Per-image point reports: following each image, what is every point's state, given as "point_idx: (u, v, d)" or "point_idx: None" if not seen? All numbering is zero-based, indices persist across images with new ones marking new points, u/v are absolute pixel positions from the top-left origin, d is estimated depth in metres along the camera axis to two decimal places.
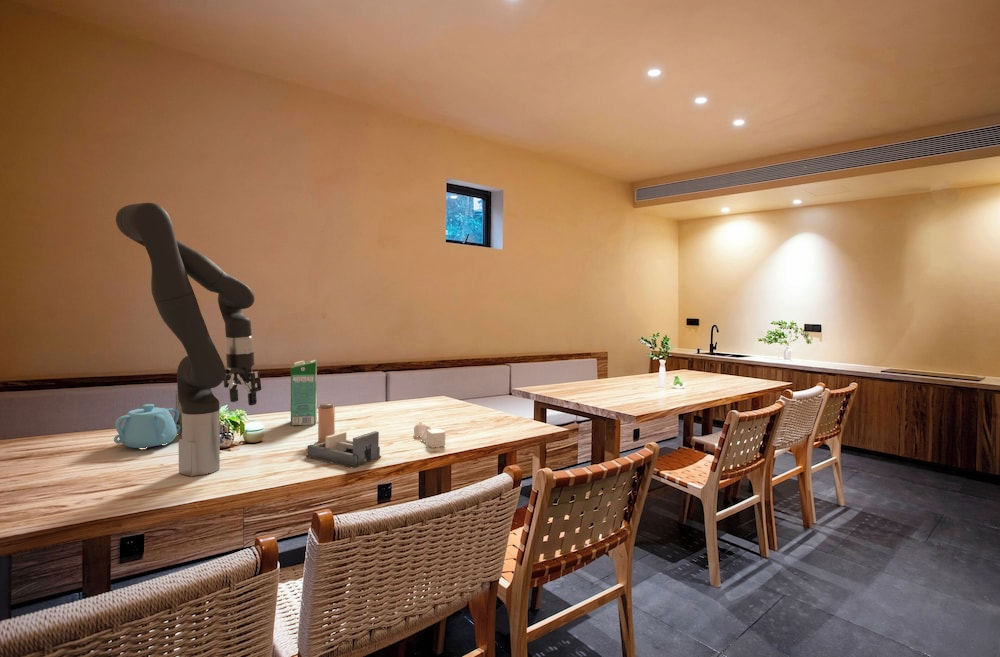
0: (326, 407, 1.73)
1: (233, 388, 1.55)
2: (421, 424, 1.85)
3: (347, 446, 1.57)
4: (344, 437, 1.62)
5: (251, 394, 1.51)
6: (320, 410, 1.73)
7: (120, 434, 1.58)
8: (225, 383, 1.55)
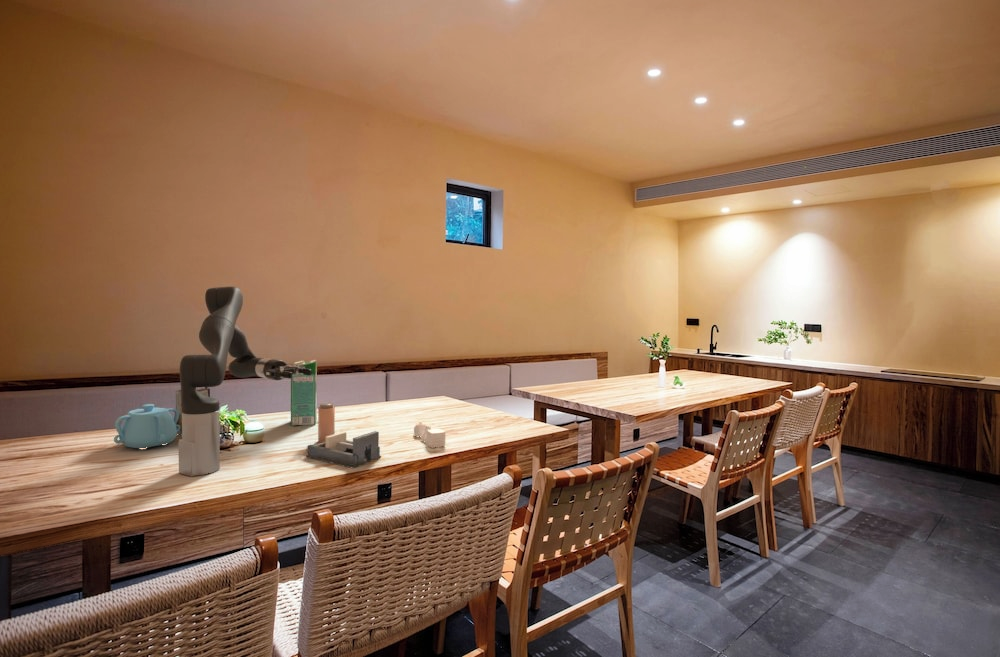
0: (326, 407, 1.73)
1: None
2: (421, 424, 1.85)
3: (347, 446, 1.57)
4: (344, 437, 1.62)
5: (306, 369, 1.86)
6: (320, 410, 1.73)
7: (120, 434, 1.58)
8: (275, 371, 1.77)
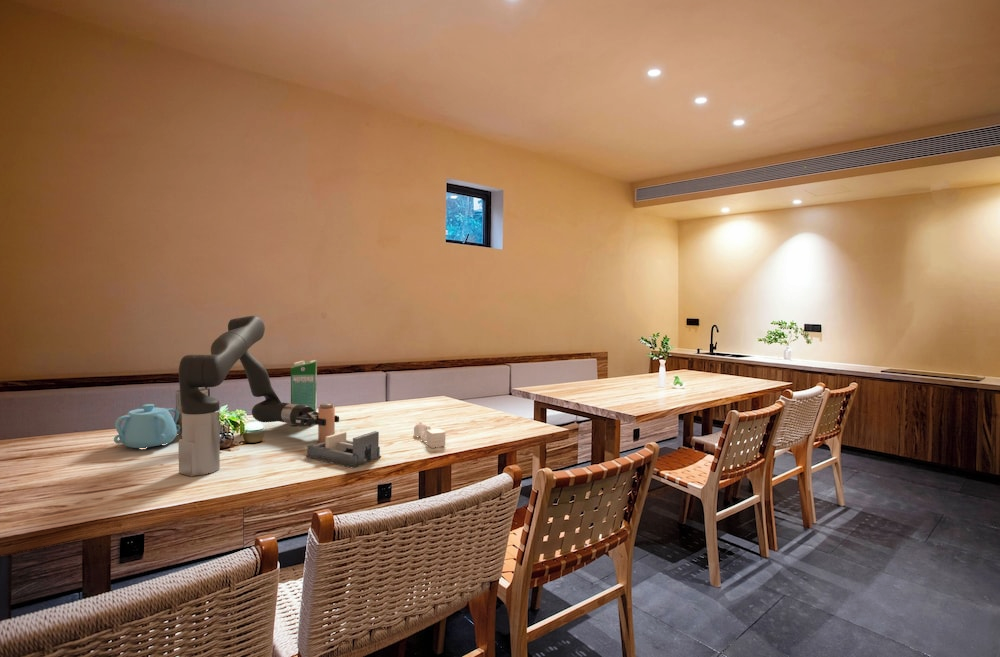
0: (326, 407, 1.73)
1: None
2: (421, 424, 1.85)
3: (347, 446, 1.57)
4: (344, 437, 1.62)
5: None
6: (320, 410, 1.73)
7: (120, 434, 1.58)
8: (308, 418, 1.72)
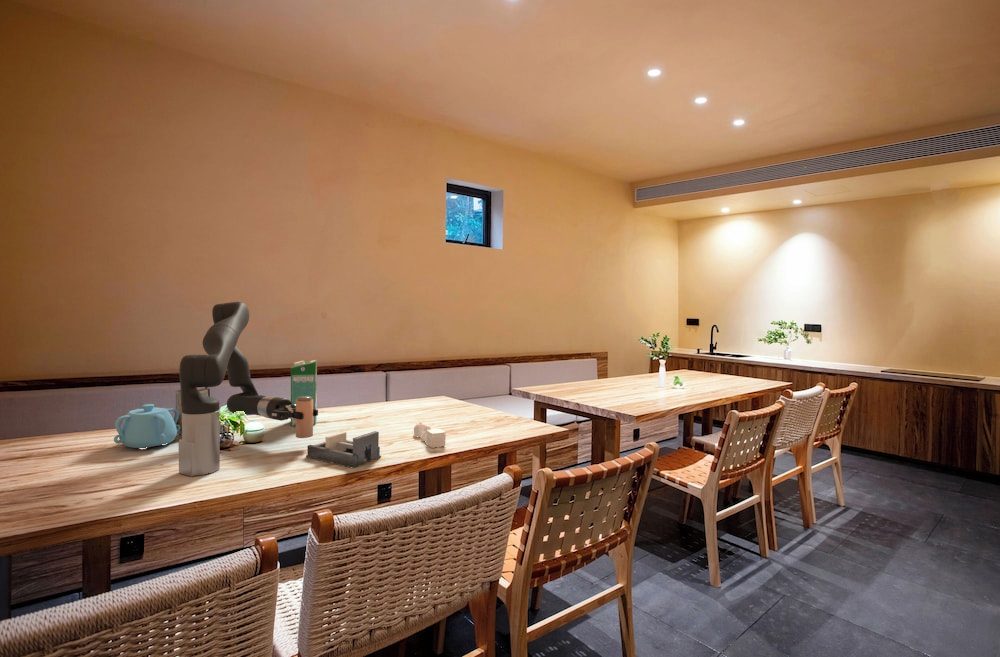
0: (304, 400, 1.63)
1: None
2: (421, 424, 1.85)
3: (347, 446, 1.57)
4: (344, 437, 1.62)
5: None
6: (297, 403, 1.63)
7: (120, 434, 1.58)
8: (285, 411, 1.63)
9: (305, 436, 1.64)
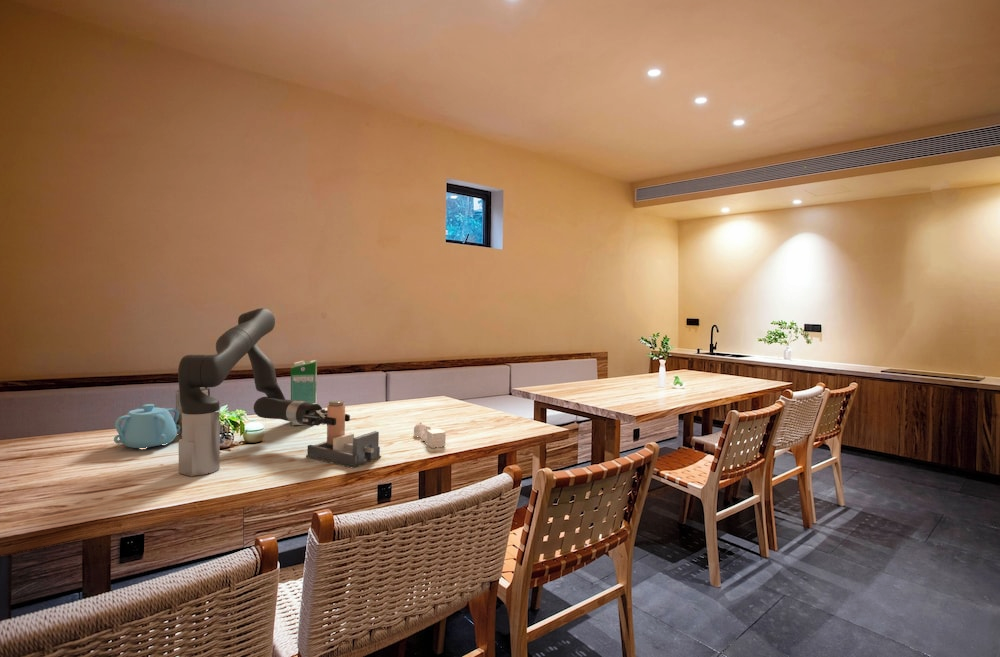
0: (336, 405, 1.57)
1: None
2: (421, 424, 1.85)
3: None
4: (352, 438, 1.60)
5: None
6: (329, 408, 1.57)
7: (120, 434, 1.58)
8: (316, 416, 1.56)
9: None
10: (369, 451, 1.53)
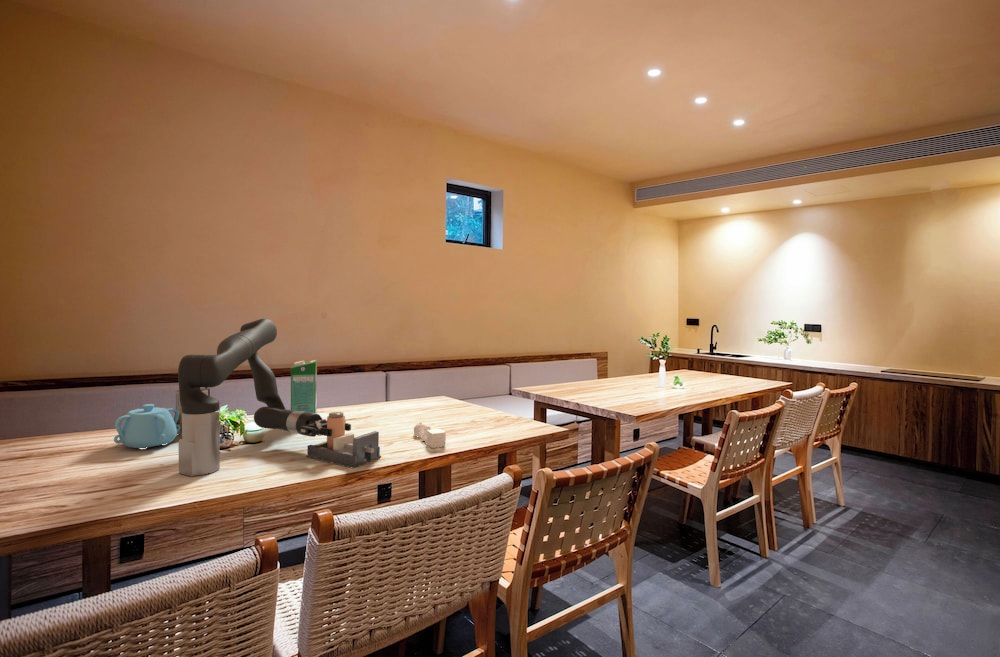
0: (336, 416, 1.57)
1: None
2: (421, 424, 1.85)
3: None
4: (352, 439, 1.60)
5: None
6: (329, 420, 1.57)
7: (120, 434, 1.58)
8: (312, 428, 1.56)
9: None
10: (369, 451, 1.52)
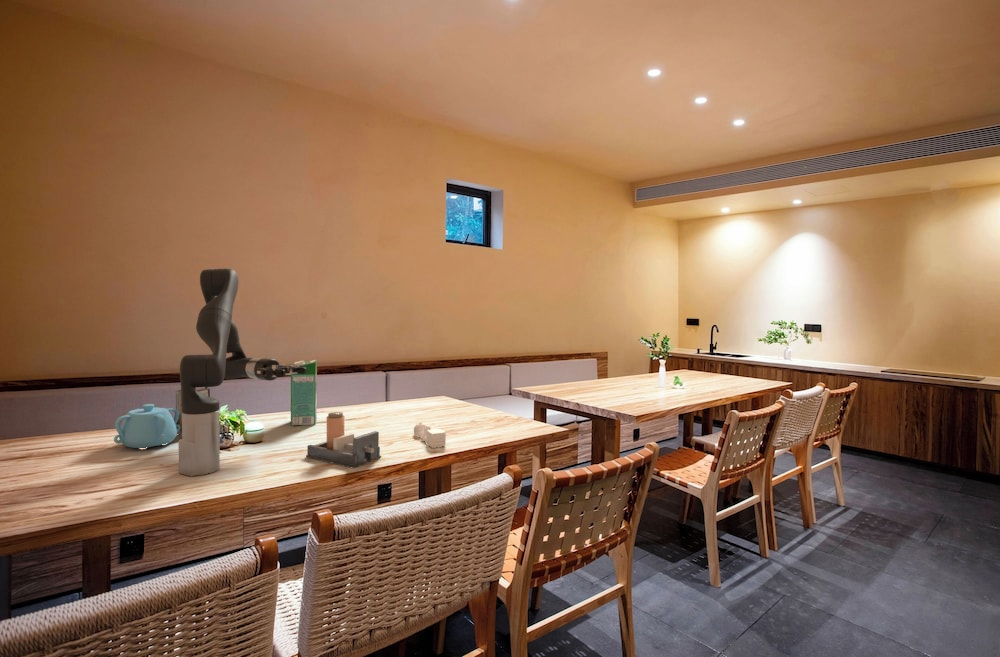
0: (335, 417, 1.57)
1: None
2: (421, 424, 1.85)
3: None
4: (352, 439, 1.60)
5: None
6: (329, 420, 1.57)
7: (120, 434, 1.58)
8: (267, 369, 1.64)
9: None
10: (369, 451, 1.52)
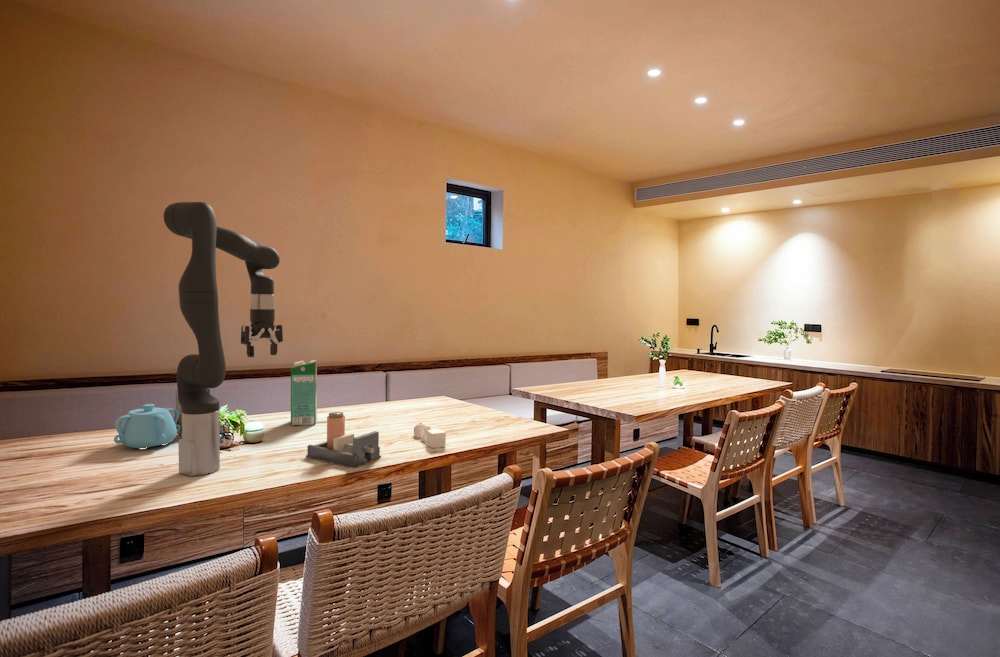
0: (336, 416, 1.57)
1: None
2: (421, 424, 1.85)
3: None
4: (352, 439, 1.60)
5: (276, 345, 1.72)
6: (329, 420, 1.57)
7: (120, 434, 1.58)
8: (247, 340, 1.62)
9: None
10: (369, 451, 1.52)
